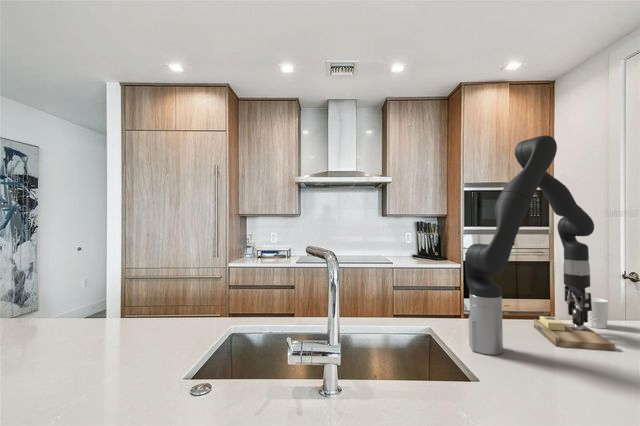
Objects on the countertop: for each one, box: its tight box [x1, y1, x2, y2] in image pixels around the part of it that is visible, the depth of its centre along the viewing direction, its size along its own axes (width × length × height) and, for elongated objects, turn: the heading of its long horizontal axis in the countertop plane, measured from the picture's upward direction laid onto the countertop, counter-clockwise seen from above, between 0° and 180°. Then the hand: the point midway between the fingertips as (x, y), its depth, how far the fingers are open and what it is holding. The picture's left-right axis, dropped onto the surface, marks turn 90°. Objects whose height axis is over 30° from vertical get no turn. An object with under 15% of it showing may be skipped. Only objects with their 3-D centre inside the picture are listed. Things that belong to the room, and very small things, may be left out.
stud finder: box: [539, 315, 566, 331], centre depth 121 cm, size 5×8×3 cm, turn 165°
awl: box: [571, 307, 585, 331], centre depth 119 cm, size 3×3×9 cm
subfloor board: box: [533, 318, 616, 352], centre depth 116 cm, size 16×20×3 cm
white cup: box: [584, 296, 609, 329], centre depth 128 cm, size 8×8×10 cm
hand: (577, 318), depth 119 cm, fingers open, 8 cm apart
